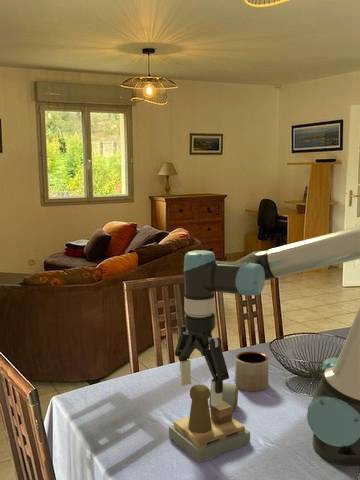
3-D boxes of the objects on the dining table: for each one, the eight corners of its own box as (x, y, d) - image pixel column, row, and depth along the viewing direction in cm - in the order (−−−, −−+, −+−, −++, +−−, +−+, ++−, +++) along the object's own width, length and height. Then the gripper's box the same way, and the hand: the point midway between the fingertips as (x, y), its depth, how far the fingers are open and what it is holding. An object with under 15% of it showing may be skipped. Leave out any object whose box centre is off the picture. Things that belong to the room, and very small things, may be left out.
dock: (250, 442, 130) (250, 432, 130) (199, 462, 122) (199, 451, 121) (217, 420, 142) (217, 410, 141) (168, 436, 133) (168, 426, 133)
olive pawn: (204, 435, 125) (204, 394, 124) (183, 429, 129) (183, 388, 127) (215, 425, 130) (216, 384, 129) (195, 419, 134) (195, 379, 132)
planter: (273, 382, 166) (274, 355, 164) (260, 395, 157) (260, 366, 155) (243, 375, 172) (243, 348, 170) (228, 387, 163) (229, 359, 161)
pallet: (244, 431, 130) (244, 426, 130) (200, 448, 123) (200, 442, 122) (216, 412, 140) (216, 407, 140) (174, 426, 133) (174, 421, 132)
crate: (231, 420, 133) (232, 406, 132) (219, 424, 131) (219, 410, 130) (222, 414, 136) (222, 400, 135) (210, 418, 134) (210, 404, 133)
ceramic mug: (237, 414, 145) (237, 389, 144) (208, 412, 146) (209, 387, 145) (238, 398, 155) (238, 374, 154) (212, 396, 157) (212, 373, 156)
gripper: (244, 322, 117) (243, 409, 120) (184, 300, 137) (185, 374, 140) (218, 329, 113) (218, 418, 116) (161, 304, 133) (162, 380, 136)
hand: (200, 394), depth 128 cm, fingers open, 13 cm apart
